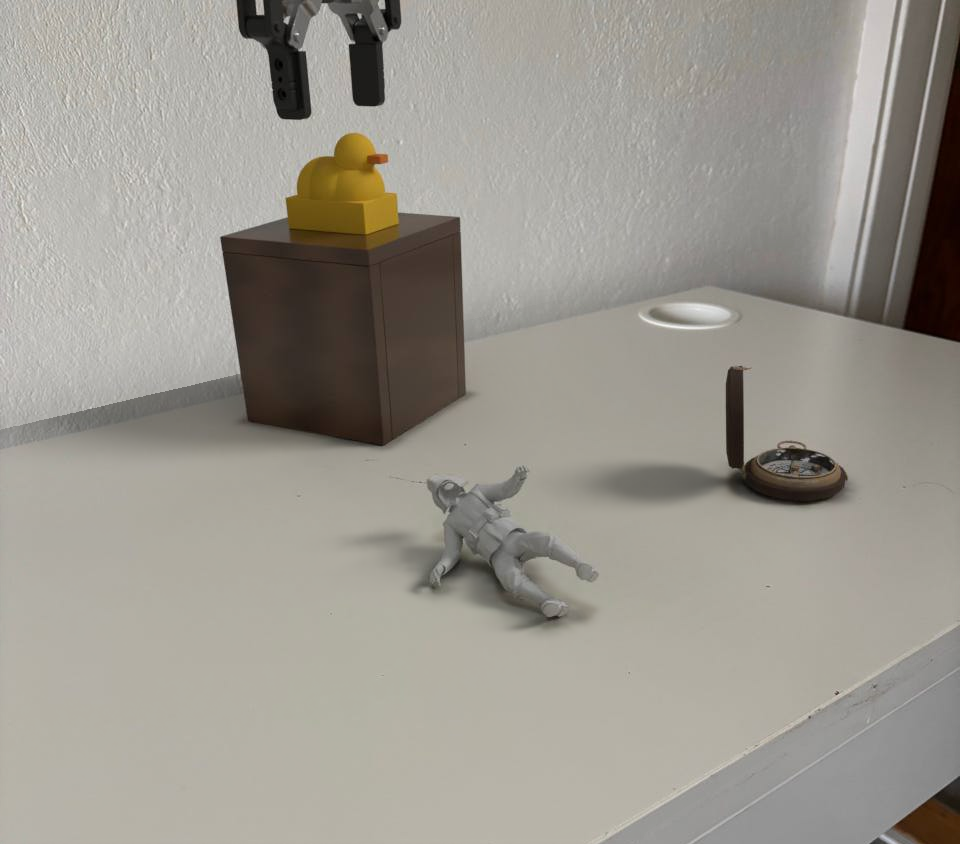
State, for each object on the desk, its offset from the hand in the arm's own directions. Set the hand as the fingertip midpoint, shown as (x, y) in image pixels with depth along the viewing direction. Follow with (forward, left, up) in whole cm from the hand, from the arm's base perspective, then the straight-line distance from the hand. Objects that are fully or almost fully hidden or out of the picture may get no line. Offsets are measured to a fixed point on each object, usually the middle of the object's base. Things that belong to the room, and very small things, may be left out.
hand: (333, 112), depth 68 cm
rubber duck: (0, 0, -7) cm, 7 cm away
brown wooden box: (0, 0, -20) cm, 20 cm away
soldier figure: (+22, -19, -20) cm, 35 cm away
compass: (+32, 0, -20) cm, 38 cm away
